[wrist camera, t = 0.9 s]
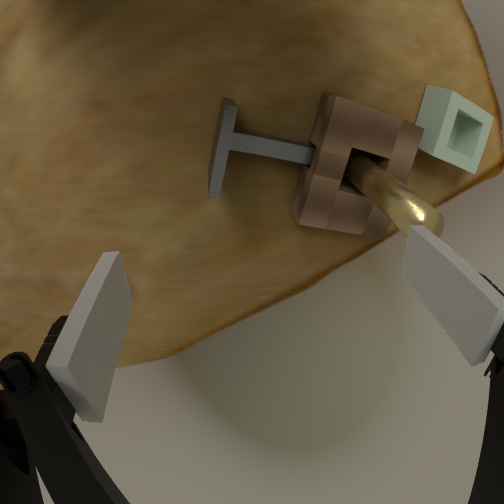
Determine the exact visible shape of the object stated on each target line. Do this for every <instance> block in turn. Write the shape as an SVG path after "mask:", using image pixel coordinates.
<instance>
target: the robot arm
mask: <svg viewBox="0 0 504 504" xmlns="http://www.w3.org/2000/svg"><path fill="white" fill-rule="evenodd" d="M400 275H401V277H402V278H403V279H404V280H405V281H406V283H407V284H408V285H409V286H410V287H411V289H412V290H413V291H414V292H415V293H416V295H417V296H418V297H419V298H420V300H421V301H422V302H423V303H424V305H425V306H426V307H427V308H428V310H429V311H430V312H431V313H432V315H433V316H434V317H435V318H436V320H437V321H438V322H439V324H440V325H441V326H442V327H443V329H444V330H445V331H446V333H447V334H448V335H449V337H450V338H451V339H452V341H453V342H454V343H455V345H456V346H457V347H458V349H459V350H460V351H461V353H462V354H463V356H464V357H465V358H466V360H467V361H468V363H469V364H470V365H471V366H474V365H477V364H479V363H482V362H484V361H485V359H486V358H487V356H488V354H489V352H490V350H491V351H492V352H493V353H494V354H495V355H494V357H493V359H492V361H491V362H490V364H489V366H488V368H487V370H486V371H485V373H484V376H486V375H487V374H488V372H489V371H491V375H490V376H489V377H490V390H489V401H488V410H487V417H486V425H485V431H484V437H483V443H482V449H481V453H480V458H479V463H478V468H477V472H476V476H475V480H474V484H473V488H472V492H471V495H470V499H469V502H468V504H504V294H503V293H502V292H501V291H500V290H498V288H497V287H496V286H495V285H494V284H492V282H491V281H490V280H489V279H488V278H487V277H486V276H484V275H482V274H481V273H479V272H477V271H476V270H475V269H474V268H473V267H471V266H470V265H469V264H468V263H467V262H466V261H465V260H463V259H462V258H461V257H460V256H459V255H458V254H457V253H456V252H454V251H453V250H452V249H451V248H450V247H449V246H447V245H446V244H445V243H444V242H443V241H441V240H440V239H439V238H438V237H437V236H435V235H434V234H433V233H432V232H431V231H429V230H428V229H427V228H426V227H424V226H423V225H410V226H409V231H408V237H407V243H406V249H405V254H404V259H403V264H402V269H401V274H400ZM133 304H134V302H133V299H132V295H131V292H130V288H129V285H128V281H127V278H126V274H125V271H124V267H123V263H122V259H121V255H120V252H119V251H114V252H104V253H103V254H102V256H101V258H100V259H99V261H98V263H97V265H96V266H95V268H94V270H93V272H92V273H91V275H90V277H89V279H88V281H87V282H86V284H85V286H84V288H83V290H82V292H81V293H80V295H79V297H78V299H77V301H76V303H75V305H74V307H73V309H72V311H71V313H70V315H69V316H61V317H60V318H59V319H58V320H57V321H56V322H55V323H54V324H53V325H52V327H51V329H50V330H49V332H48V334H47V335H48V336H46V338H45V340H44V342H43V343H44V344H42V346H41V348H40V350H39V352H38V355H37V357H36V359H35V361H34V363H33V362H32V361H31V359H30V358H29V356H28V355H27V354H26V353H24V352H14V353H11V354H9V355H7V356H6V357H4V358H3V359H2V360H1V361H0V383H1V384H2V386H3V387H4V389H3V390H0V504H44V502H43V498H42V494H41V490H40V486H39V481H38V477H37V472H36V468H37V470H38V472H39V474H40V476H41V478H42V480H43V483H44V484H45V486H46V488H47V490H48V492H49V494H50V496H51V498H52V500H53V502H54V503H55V504H130V503H129V502H128V501H127V499H126V498H125V497H124V495H123V494H122V493H121V491H120V490H119V489H118V487H117V486H116V485H115V484H114V482H113V481H112V479H111V478H110V477H109V475H108V474H107V472H106V471H105V469H104V468H103V466H102V465H101V464H100V462H99V461H98V459H97V458H96V456H95V455H94V453H93V451H92V450H91V448H90V447H89V445H88V444H87V442H86V441H85V439H84V437H83V435H82V434H81V432H80V431H79V429H78V427H77V425H76V424H75V423H74V422H73V419H74V415H75V412H76V413H77V414H78V415H79V417H80V418H81V419H82V421H88V422H100V423H102V422H103V418H104V413H105V409H106V405H107V400H108V396H109V392H110V388H111V383H112V379H113V375H114V371H115V367H116V364H117V360H118V356H119V352H120V349H121V345H122V341H123V338H124V334H125V331H126V327H127V324H128V321H129V317H130V314H131V311H132V307H133ZM35 466H36V467H35Z"/></svg>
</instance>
